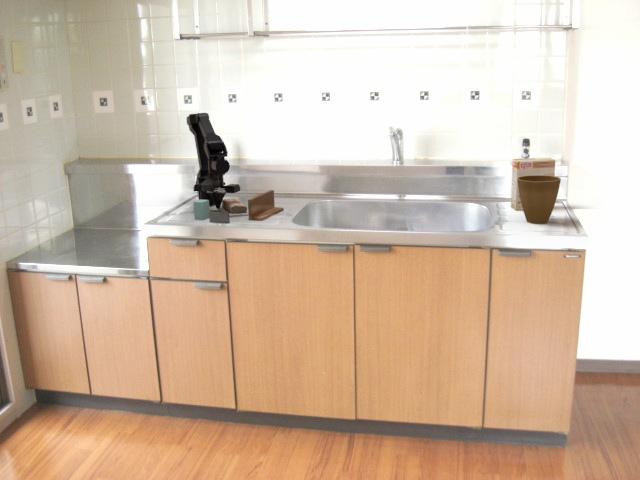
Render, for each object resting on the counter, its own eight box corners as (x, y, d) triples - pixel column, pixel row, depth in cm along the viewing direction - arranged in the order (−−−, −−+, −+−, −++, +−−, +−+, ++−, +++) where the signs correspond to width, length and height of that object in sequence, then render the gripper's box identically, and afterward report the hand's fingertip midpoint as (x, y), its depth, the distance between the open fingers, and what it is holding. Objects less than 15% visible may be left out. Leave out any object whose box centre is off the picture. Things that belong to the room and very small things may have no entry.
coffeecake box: (547, 205, 284) (549, 157, 279) (553, 209, 277) (556, 159, 272) (510, 207, 284) (512, 158, 279) (515, 210, 277) (517, 161, 272)
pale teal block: (194, 219, 276) (193, 201, 274) (201, 216, 280) (200, 199, 278) (203, 220, 274) (202, 202, 272) (210, 217, 279) (209, 199, 277)
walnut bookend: (248, 219, 273) (247, 199, 271) (271, 209, 291) (270, 190, 289) (261, 220, 271) (261, 200, 269) (283, 210, 289) (282, 190, 287)
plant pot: (559, 218, 262) (562, 175, 258) (556, 227, 249) (559, 182, 245) (518, 215, 268) (520, 173, 264) (512, 224, 255) (514, 180, 251)
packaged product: (216, 198, 293) (240, 196, 296) (217, 210, 294) (241, 208, 297) (226, 206, 276) (251, 204, 280) (227, 218, 277) (251, 216, 281)
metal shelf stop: (209, 221, 271) (209, 211, 270) (211, 221, 272) (210, 211, 271) (228, 223, 268) (227, 212, 267) (229, 222, 269) (229, 212, 268)
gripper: (185, 172, 282) (187, 211, 285) (226, 174, 275) (228, 214, 278) (199, 168, 291) (202, 206, 295) (240, 170, 285) (242, 208, 288)
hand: (218, 208), depth 289 cm, fingers closed
